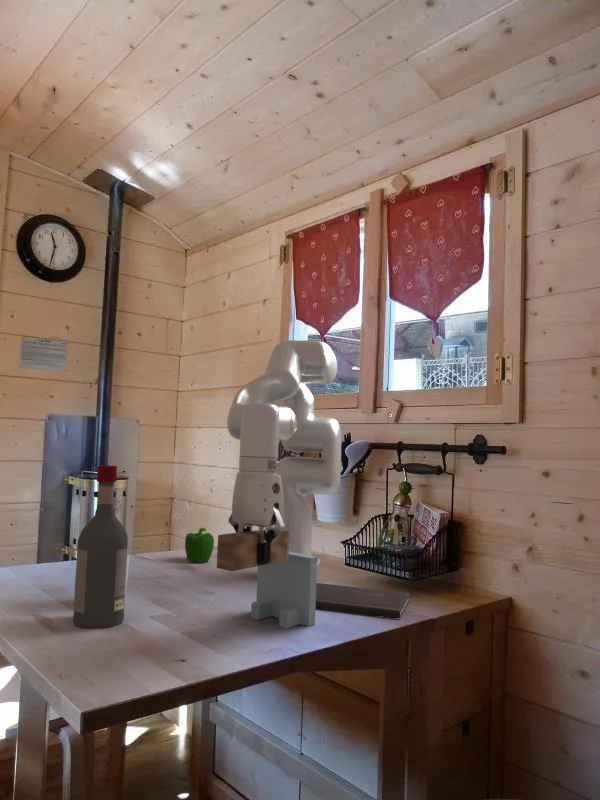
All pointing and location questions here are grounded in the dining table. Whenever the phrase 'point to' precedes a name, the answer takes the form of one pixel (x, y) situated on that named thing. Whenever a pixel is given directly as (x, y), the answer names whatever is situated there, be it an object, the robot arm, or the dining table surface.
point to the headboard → (287, 591)
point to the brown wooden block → (248, 549)
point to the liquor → (101, 561)
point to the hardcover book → (360, 600)
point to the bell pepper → (199, 546)
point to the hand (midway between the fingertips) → (254, 560)
